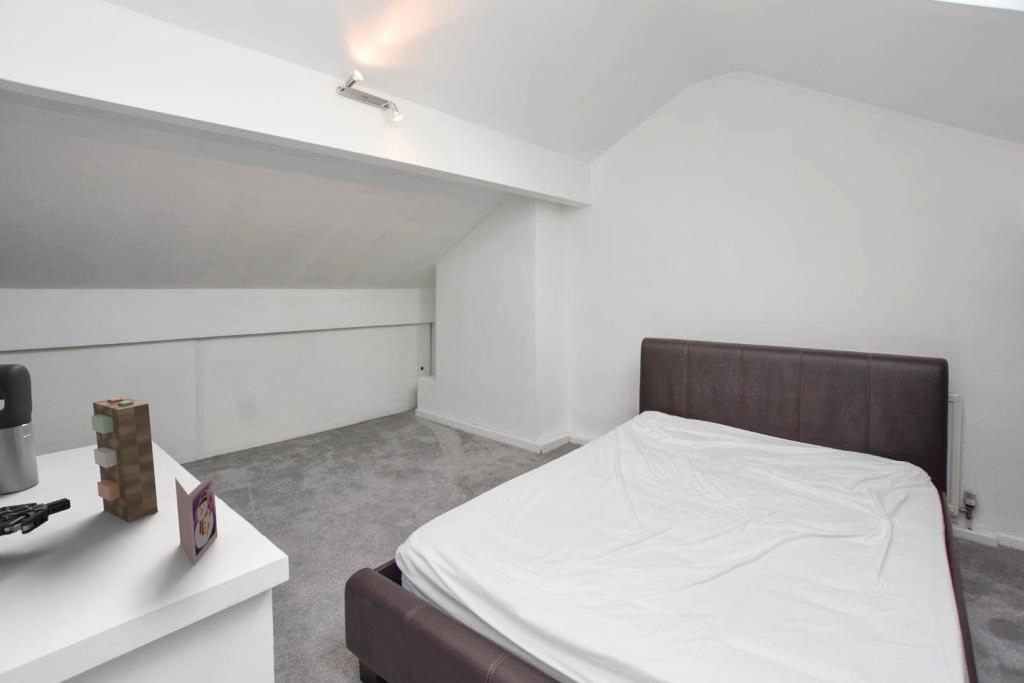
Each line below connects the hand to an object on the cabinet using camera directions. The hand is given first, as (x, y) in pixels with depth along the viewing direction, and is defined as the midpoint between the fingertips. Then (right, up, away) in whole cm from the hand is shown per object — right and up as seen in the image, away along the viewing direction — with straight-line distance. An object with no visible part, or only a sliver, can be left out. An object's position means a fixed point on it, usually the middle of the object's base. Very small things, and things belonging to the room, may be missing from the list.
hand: (68, 502), depth 108 cm
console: (+5, -6, +11) cm, 13 cm away
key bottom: (+4, -1, +7) cm, 8 cm away
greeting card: (+31, -9, -6) cm, 33 cm away
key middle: (+4, +7, +6) cm, 10 cm away
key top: (+4, +15, +5) cm, 16 cm away
